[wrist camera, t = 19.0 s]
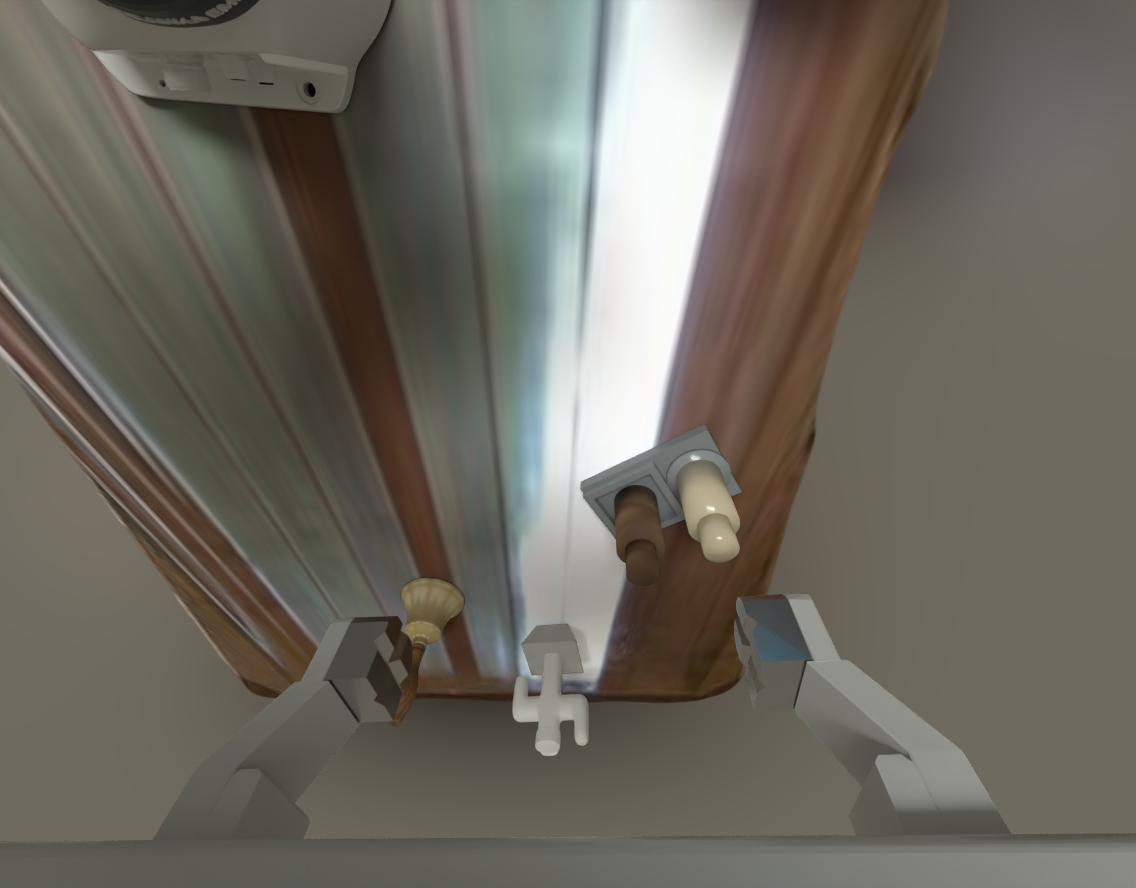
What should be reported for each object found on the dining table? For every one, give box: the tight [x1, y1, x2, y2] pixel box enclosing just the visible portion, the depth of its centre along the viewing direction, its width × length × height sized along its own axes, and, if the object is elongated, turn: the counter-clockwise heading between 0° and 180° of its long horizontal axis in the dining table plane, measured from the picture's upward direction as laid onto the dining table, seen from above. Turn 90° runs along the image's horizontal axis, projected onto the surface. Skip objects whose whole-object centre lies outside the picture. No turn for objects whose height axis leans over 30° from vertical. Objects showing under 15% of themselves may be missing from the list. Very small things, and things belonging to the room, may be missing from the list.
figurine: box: [513, 624, 589, 756], centre depth 61 cm, size 7×9×15 cm
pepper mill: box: [614, 485, 665, 586], centre depth 48 cm, size 5×5×10 cm
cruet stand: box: [581, 424, 741, 562], centre depth 47 cm, size 15×9×12 cm, turn 122°
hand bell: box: [389, 578, 465, 726], centre depth 58 cm, size 8×8×16 cm
